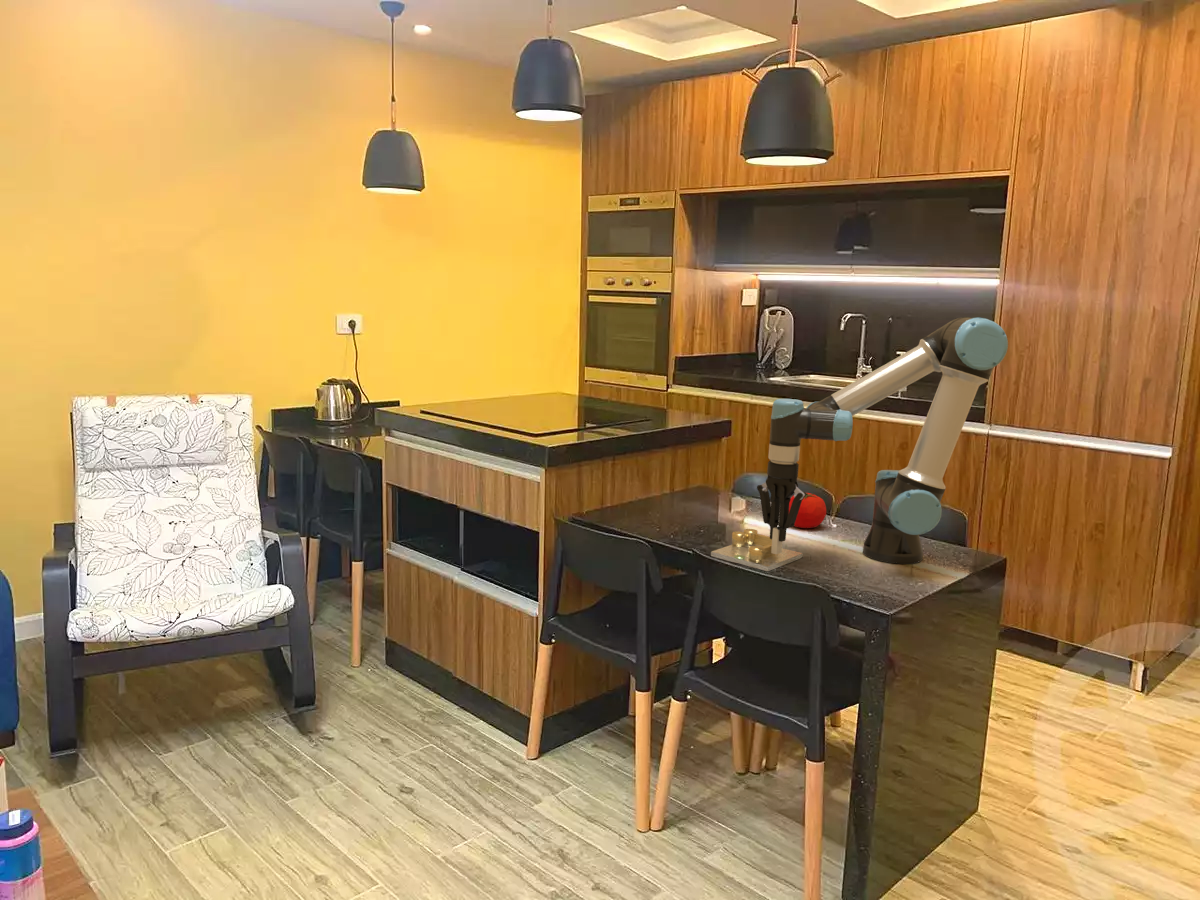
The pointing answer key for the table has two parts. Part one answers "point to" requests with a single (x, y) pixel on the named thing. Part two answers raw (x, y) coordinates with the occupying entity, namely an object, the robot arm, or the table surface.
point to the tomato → (810, 511)
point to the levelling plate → (741, 554)
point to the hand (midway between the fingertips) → (776, 552)
